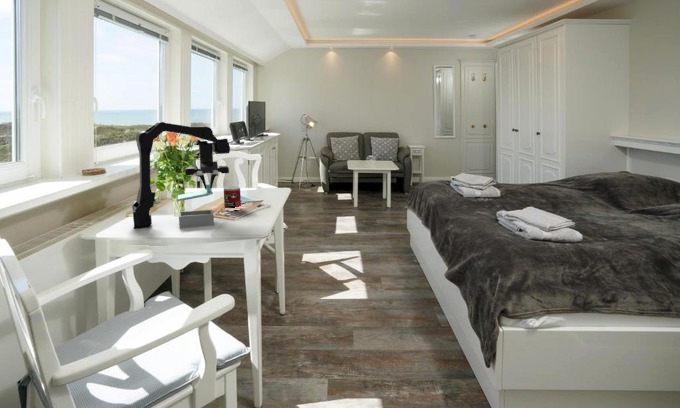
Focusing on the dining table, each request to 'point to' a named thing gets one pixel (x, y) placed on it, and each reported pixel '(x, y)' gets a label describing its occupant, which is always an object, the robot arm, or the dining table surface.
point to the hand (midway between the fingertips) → (208, 189)
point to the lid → (196, 194)
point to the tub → (196, 218)
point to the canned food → (232, 197)
